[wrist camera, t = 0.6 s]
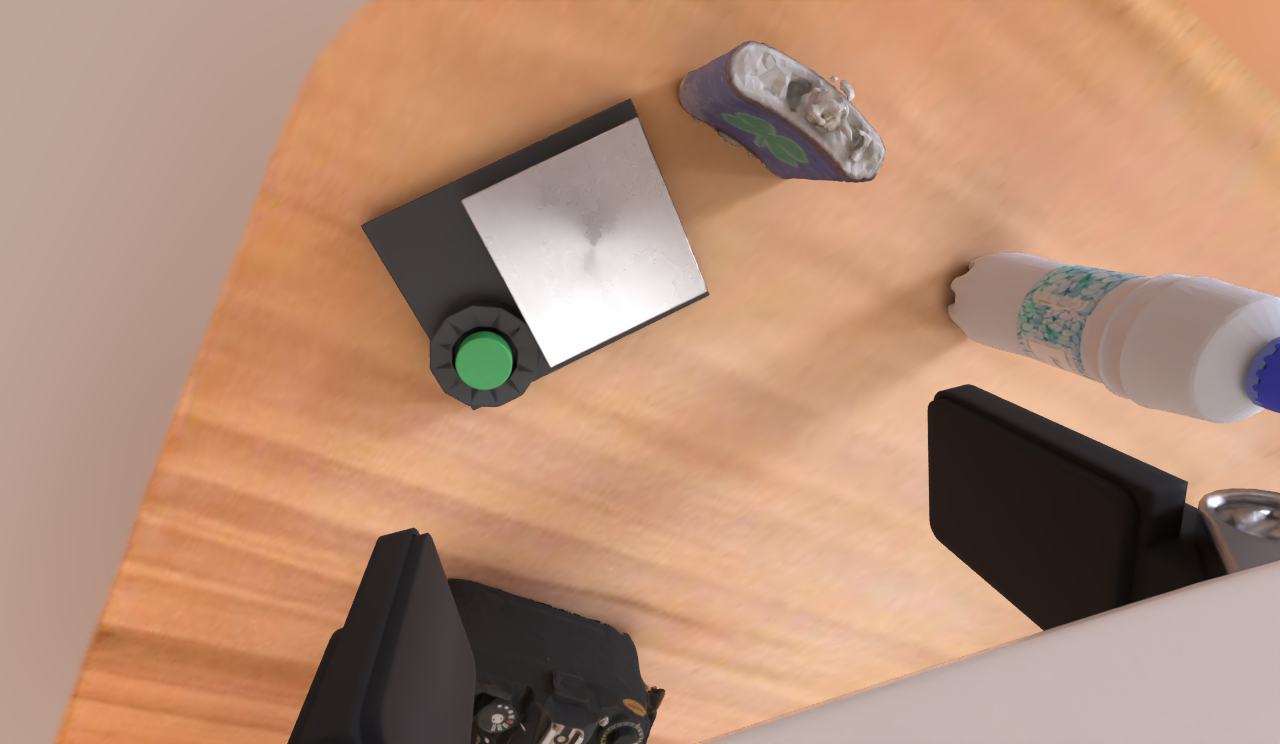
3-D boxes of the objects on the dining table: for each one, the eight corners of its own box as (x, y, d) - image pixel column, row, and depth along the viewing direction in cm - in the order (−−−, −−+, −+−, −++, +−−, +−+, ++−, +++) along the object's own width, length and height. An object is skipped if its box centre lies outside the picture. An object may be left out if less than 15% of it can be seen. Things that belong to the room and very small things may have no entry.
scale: (358, 227, 33) (344, 231, 30) (626, 100, 34) (636, 94, 31) (468, 406, 37) (464, 424, 34) (703, 291, 38) (718, 300, 35)
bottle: (919, 324, 42) (1244, 443, 23) (963, 231, 40) (1351, 279, 22) (991, 351, 44) (1347, 482, 25) (1036, 263, 42) (1451, 333, 23)
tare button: (447, 345, 33) (444, 353, 32) (496, 321, 33) (495, 328, 32) (474, 390, 34) (472, 399, 33) (521, 367, 34) (521, 375, 33)
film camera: (393, 720, 43) (360, 868, 34) (409, 574, 40) (377, 695, 31) (630, 717, 48) (658, 847, 38) (662, 585, 44) (701, 694, 35)
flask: (668, 102, 34) (732, 71, 24) (695, 54, 34) (772, 2, 24) (790, 189, 37) (893, 194, 27) (817, 146, 36) (932, 135, 26)
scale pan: (461, 200, 31) (460, 200, 30) (635, 117, 31) (638, 116, 30) (549, 364, 34) (550, 368, 34) (704, 289, 35) (708, 291, 34)
